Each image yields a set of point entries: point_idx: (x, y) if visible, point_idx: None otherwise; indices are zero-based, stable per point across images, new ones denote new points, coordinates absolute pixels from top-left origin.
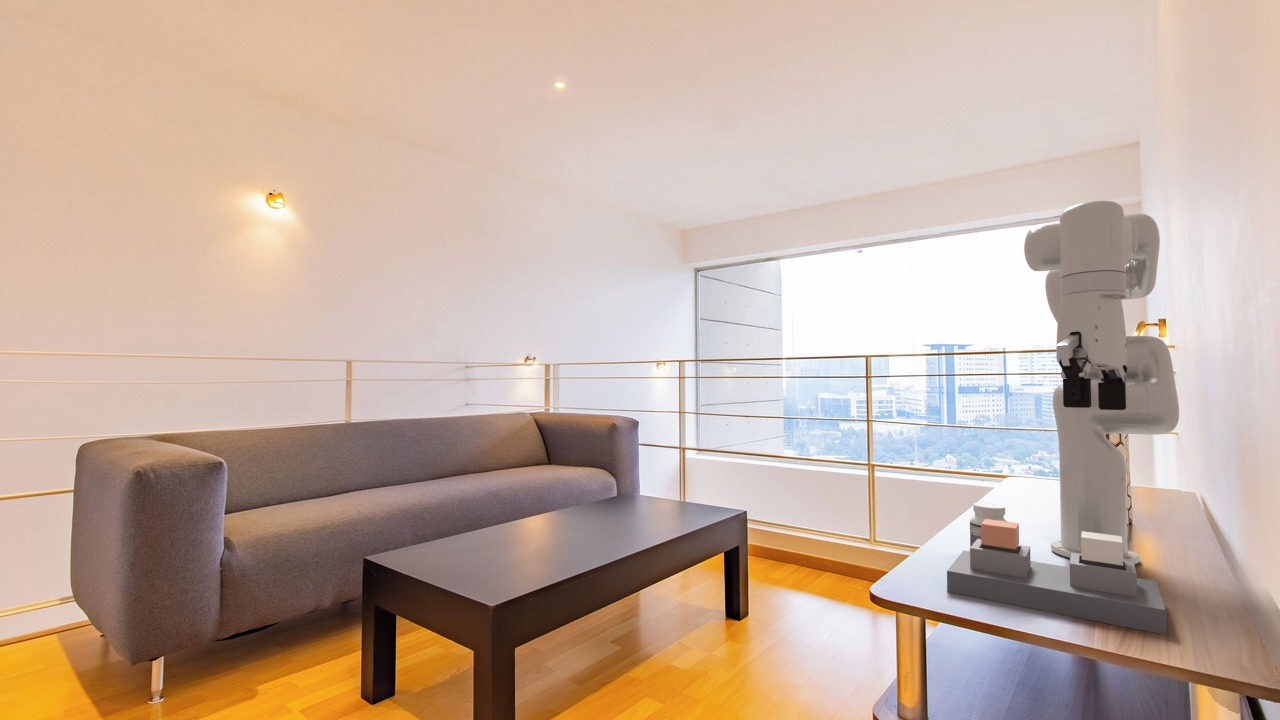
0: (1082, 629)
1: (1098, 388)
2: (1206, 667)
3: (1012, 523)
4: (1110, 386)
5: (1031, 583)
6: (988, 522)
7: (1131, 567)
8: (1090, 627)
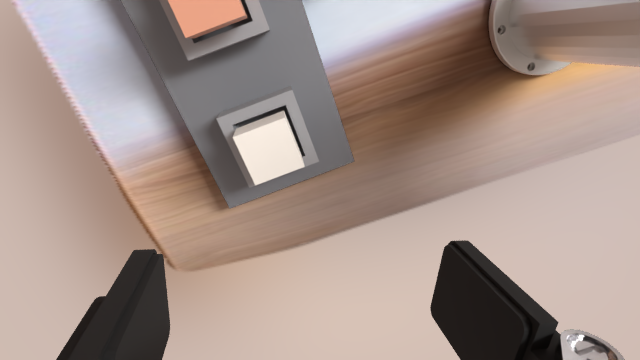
0: (160, 145)
1: (505, 302)
2: (174, 241)
3: (227, 8)
4: (497, 356)
5: (175, 76)
6: None
7: None
8: (177, 147)
